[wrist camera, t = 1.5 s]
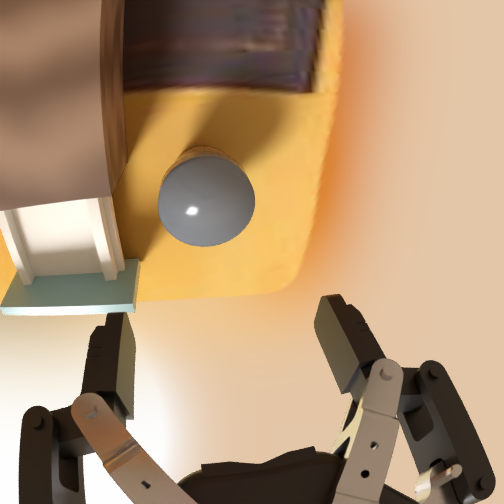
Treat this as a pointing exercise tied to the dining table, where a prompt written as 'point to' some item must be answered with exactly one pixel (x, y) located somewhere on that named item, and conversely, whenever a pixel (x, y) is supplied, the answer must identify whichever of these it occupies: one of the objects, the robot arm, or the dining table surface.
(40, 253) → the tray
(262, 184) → the dining table surface
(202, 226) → the grey domed disc
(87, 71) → the housing
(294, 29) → the dining table surface
